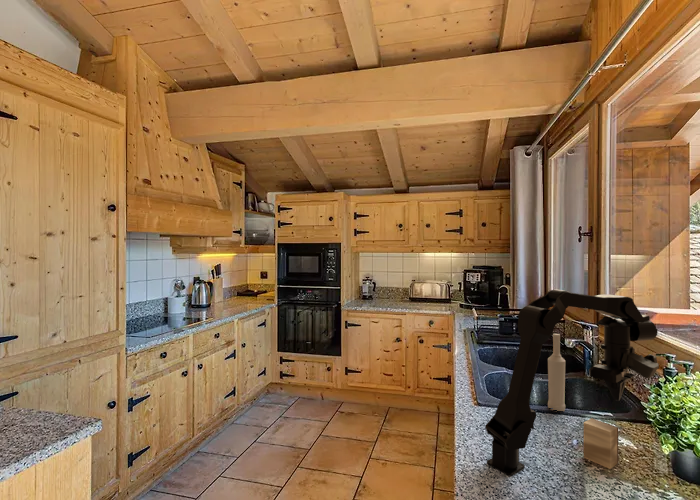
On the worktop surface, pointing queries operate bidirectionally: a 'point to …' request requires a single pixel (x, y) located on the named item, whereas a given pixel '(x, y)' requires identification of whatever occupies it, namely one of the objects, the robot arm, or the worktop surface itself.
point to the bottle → (556, 377)
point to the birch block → (601, 443)
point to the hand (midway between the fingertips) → (617, 400)
